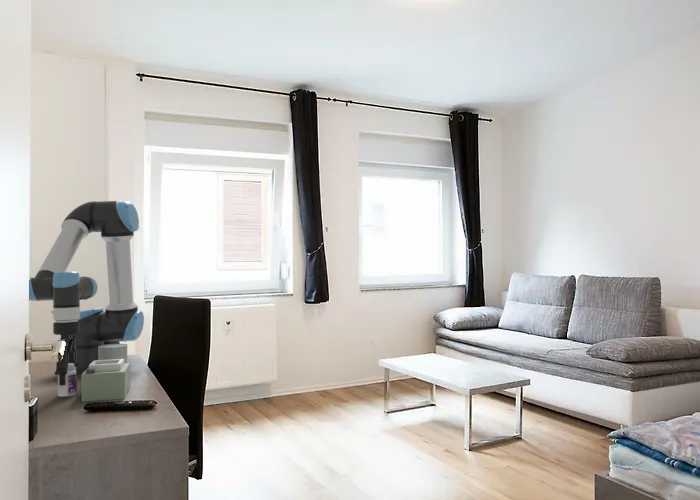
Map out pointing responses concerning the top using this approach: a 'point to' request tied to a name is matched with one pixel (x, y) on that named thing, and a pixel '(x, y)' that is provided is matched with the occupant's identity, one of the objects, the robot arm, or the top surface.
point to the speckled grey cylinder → (113, 352)
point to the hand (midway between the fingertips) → (67, 391)
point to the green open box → (106, 380)
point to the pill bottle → (71, 380)
